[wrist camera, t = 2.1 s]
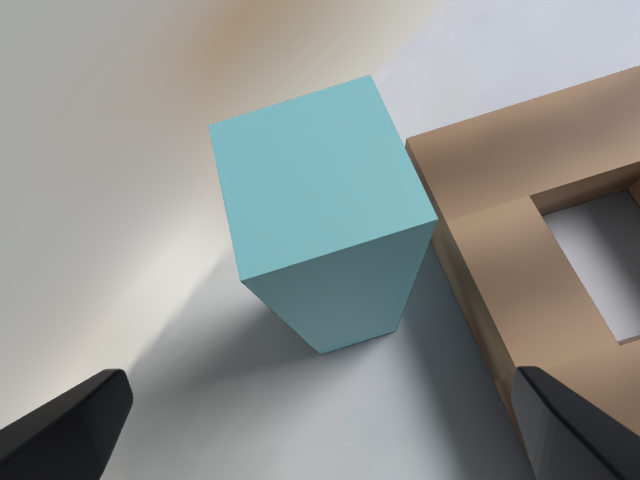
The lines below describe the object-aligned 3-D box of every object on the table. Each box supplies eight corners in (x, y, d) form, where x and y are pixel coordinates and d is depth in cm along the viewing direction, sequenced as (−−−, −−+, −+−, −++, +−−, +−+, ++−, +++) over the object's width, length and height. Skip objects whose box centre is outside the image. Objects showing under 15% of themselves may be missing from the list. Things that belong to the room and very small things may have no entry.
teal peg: (395, 331, 19) (438, 219, 7) (320, 354, 19) (240, 280, 7) (369, 260, 21) (370, 74, 9) (300, 282, 21) (208, 125, 9)
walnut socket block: (892, 396, 16) (1025, 395, 13) (548, 503, 16) (594, 530, 13) (640, 100, 23) (684, 51, 19) (401, 175, 23) (406, 138, 19)
